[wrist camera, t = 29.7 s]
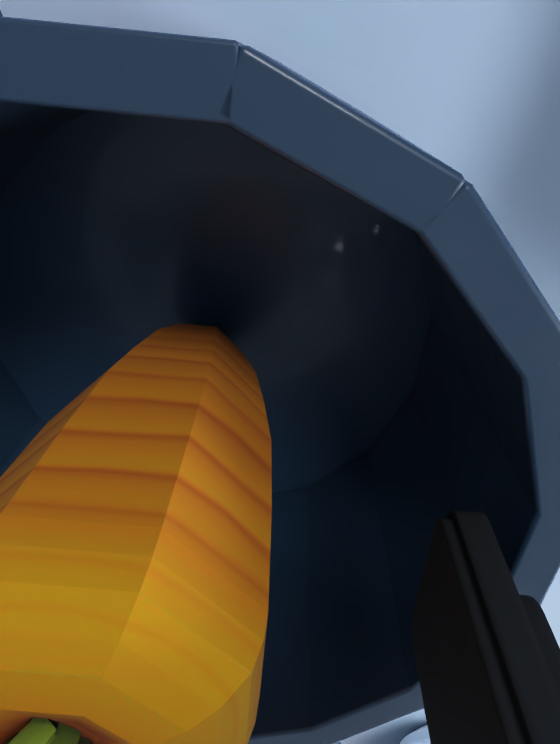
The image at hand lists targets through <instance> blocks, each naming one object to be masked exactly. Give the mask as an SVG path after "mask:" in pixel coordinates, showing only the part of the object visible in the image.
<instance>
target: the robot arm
mask: <svg viewBox="0 0 560 744" xmlns="http://www.w3.org/2000/svg"><path fill="white" fill-rule="evenodd" d="M411 637H412V644H413V649H414V655H415V660H416V666H417V671H418V677H419V682H420V688H421V693H422V699H423V704H424V710H425V715H426V721H427V726H428V731H429V737H430V742H431V744H560V648H559V646H558V644H557V641H556V639H555V637H554V635H553V632H552V630H551V628H550V626H549V623H548V621H547V619H546V617H545V614H544V612H543V610H542V608H541V607H540V605H539V603H538V602H537V601H536V600H535V599H534V598H533V597H531V596H528V595H519V593H518V590H517V588H516V585H515V583H514V581H513V578H512V576H511V573H510V571H509V568H508V566H507V563H506V561H505V559H504V556H503V554H502V551H501V549H500V546H499V544H498V541H497V539H496V537H495V534H494V532H493V529H492V527H491V524H490V522H489V519H488V518H487V516H486V515H485V514H484V513H481V512H466V511H449V512H448V514H447V517H446V519H444V518H438V519H437V520H436V523H435V527H434V531H433V535H432V539H431V543H430V547H429V551H428V555H427V559H426V563H425V567H424V571H423V575H422V579H421V583H420V587H419V591H418V595H417V599H416V603H415V607H414V610H413V614H412V619H411Z"/></svg>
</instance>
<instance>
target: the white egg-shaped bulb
mask: <svg viewBox="0 0 560 744" xmlns="http://www.w3.org/2000/svg"><path fill="white" fill-rule="evenodd" d="M400 744H431V742H430V737H429V731H428V726H427V725H425V726H422V727H420V728H419V729H417V730H416V731H414V732H412V733H410V734H408V735H407V736H406V737H404V739H403V740H402V741H401V743H400Z"/></svg>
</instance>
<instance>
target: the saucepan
mask: <svg viewBox="0 0 560 744" xmlns="http://www.w3.org/2000/svg"><path fill="white" fill-rule="evenodd" d="M179 323H180V324H193V325H205V326H216V327H218V328H219V329H220V330H221V331H222V332H223V333H224V334H225V335H226V336H227V337H228V338H229V339H230V340H231V341H232V342H233V343H234V344H235V345H236V346H237V347H238V348H239V349H240V351H241V352H242V353H243V354H244V356H245V357H246V358H247V360H248V361H249V363H250V364H251V366H252V367H253V369H254V370H255V372H256V374H257V378H258V382H259V385H260V389H261V393H262V396H263V400H264V404H265V409H266V415H267V420H268V425H269V431H270V436H271V454H272V518H271V547H270V576H269V604H268V619H267V629H266V638H265V648H264V658H263V668H262V678H261V688H260V697H259V703H258V709H257V715H256V721H255V725H254V728H253V731H252V733H251V736H250V739H249V742H248V744H341V740H344V739H346V738H349V737H351V736H354V735H356V734H359V733H362V732H364V731H367V730H369V729H372V728H374V727H377V726H380V725H382V724H385V723H387V722H390V721H393V720H395V719H398V718H400V717H403V716H405V715H408V714H411V713H413V712H416V711H418V710H421V709H423V708H424V704H423V699H422V693H421V688H420V682H419V677H418V671H417V666H416V660H415V655H414V649H413V644H412V637H411V619H412V614H413V610H414V607H415V603H416V599H417V595H418V591H419V587H420V583H421V579H422V575H423V571H424V567H425V563H426V559H427V555H428V551H429V547H430V543H431V539H432V535H433V531H434V527H435V523H436V520H437V519H438V518H444V519H446V517H447V514H448V512H449V511H466V512H481V513H484V514H485V515H486V516H487V518H488V519H489V522H490V524H491V527H492V529H493V532H494V534H495V537H496V539H497V541H498V544H499V546H500V549H501V551H502V554H503V556H504V559H505V561H506V563H507V566H508V568H509V571H510V573H511V576H512V578H513V581H514V583H515V585H516V588H517V590H518V593H519V595H528V596H531V597H533V598H534V599H535V600H536V601H537V602H538V603H539V605H541V603H542V601H543V599H544V597H545V595H546V593H547V591H548V589H549V587H550V585H551V583H552V581H553V579H554V577H555V575H556V573H557V571H558V569H559V567H560V321H559V320H558V318H557V317H556V315H555V314H554V312H553V310H552V309H551V307H550V306H549V304H548V303H547V301H546V300H545V298H544V296H543V295H542V293H541V292H540V290H539V289H538V287H537V285H536V284H535V282H534V281H533V279H532V278H531V276H530V274H529V273H528V271H527V270H526V268H525V267H524V265H523V263H522V262H521V260H520V259H519V257H518V256H517V254H516V253H515V251H514V249H513V248H512V246H511V245H510V243H509V242H508V240H507V238H506V237H505V235H504V234H503V232H502V231H501V229H500V227H499V226H498V224H497V223H496V221H495V220H494V218H493V216H492V215H491V213H490V212H489V210H488V209H487V207H486V205H485V204H484V202H483V201H482V199H481V198H480V196H479V195H478V193H477V191H476V190H475V188H474V187H473V185H472V184H470V183H469V182H467V181H466V180H465V179H464V177H463V176H462V174H460V173H459V172H457V171H456V170H454V169H452V168H451V167H449V166H448V165H446V164H444V163H443V162H441V161H440V160H438V159H436V158H435V157H433V156H432V155H430V154H428V153H427V152H425V151H424V150H422V149H420V148H419V147H417V146H416V145H414V144H412V143H411V142H409V141H408V140H406V139H404V138H403V137H401V136H400V135H398V134H396V133H395V132H393V131H392V130H390V129H388V128H387V127H385V126H384V125H382V124H380V123H379V122H377V121H376V120H374V119H372V118H371V117H369V116H367V115H366V114H364V113H362V112H361V111H359V110H357V109H356V108H354V107H352V106H351V105H349V104H347V103H346V102H344V101H342V100H341V99H339V98H337V97H336V96H334V95H332V94H331V93H329V92H328V91H326V90H324V89H323V88H321V87H319V86H318V85H316V84H314V83H313V82H311V81H309V80H308V79H306V78H304V77H303V76H301V75H299V74H298V73H296V72H294V71H293V70H291V69H289V68H288V67H286V66H284V65H283V64H281V63H279V62H278V61H276V60H274V59H272V58H270V57H268V56H266V55H265V54H263V53H261V52H259V51H257V50H255V49H253V48H251V47H250V46H245V45H243V44H241V43H239V42H237V41H235V40H227V39H217V38H207V37H198V36H188V35H178V34H168V33H158V32H148V31H139V30H129V29H119V28H109V27H99V26H89V25H80V24H70V23H60V22H50V21H40V20H31V19H21V18H11V17H3V15H2V13H1V11H0V477H1V476H2V475H3V474H4V472H5V471H6V470H7V469H8V468H9V467H10V465H11V464H12V463H13V462H14V461H15V460H16V459H17V457H18V456H19V455H20V454H21V453H22V452H23V450H24V449H25V448H26V447H27V446H28V445H29V443H30V442H31V441H32V440H33V439H34V438H35V436H36V435H37V434H38V433H39V432H40V431H41V430H42V428H43V427H44V426H45V425H46V424H47V423H48V422H49V421H50V420H51V419H52V418H53V417H54V416H55V415H57V414H58V413H59V412H60V411H61V410H62V409H63V408H65V407H66V406H67V405H68V404H69V403H70V402H71V401H73V400H74V399H75V398H76V397H77V396H78V395H80V394H81V393H82V392H83V391H84V390H85V389H86V388H88V387H89V386H90V385H91V384H92V383H93V382H95V381H96V380H97V379H98V378H99V377H100V376H102V375H103V374H104V373H105V372H106V371H107V370H108V369H110V368H111V367H112V366H113V365H114V364H115V363H117V362H118V361H119V360H120V359H121V358H122V357H124V356H125V355H126V354H127V353H128V352H129V351H131V350H132V349H133V348H134V347H135V346H136V345H138V344H139V343H141V342H142V341H143V340H145V339H146V338H147V337H149V336H150V335H151V334H153V333H154V332H155V331H157V330H158V329H160V328H164V327H167V326H171V325H175V324H179Z"/></svg>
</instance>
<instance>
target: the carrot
mask: <svg viewBox="0 0 560 744" xmlns="http://www.w3.org/2000/svg"><path fill="white" fill-rule="evenodd" d="M271 518H272V454H271V436H270V431H269V425H268V420H267V415H266V409H265V404H264V400H263V396H262V393H261V389H260V385H259V382H258V378H257V374H256V372H255V370H254V369H253V367H252V366H251V364H250V363H249V361H248V360H247V358H246V357H245V356H244V354H243V353H242V352H241V351H240V349H239V348H238V347H237V346H236V345H235V344H234V343H233V342H232V341H231V340H230V339H229V338H228V337H227V336H226V335H225V334H224V333H223V332H222V331H221V330H220V329H219V328H218V327H216V326H205V325H193V324H180V323H179V324H175V325H171V326H167V327H164V328H160V329H158V330H157V331H155V332H154V333H153V334H151V335H150V336H149V337H147V338H146V339H145V340H143V341H142V342H141V343H139V344H138V345H136V346H135V347H134V348H133V349H132V350H131V351H129V352H128V353H127V354H126V355H125V356H124V357H122V358H121V359H120V360H119V361H118V362H117V363H115V364H114V365H113V366H112V367H111V368H110V369H108V370H107V371H106V372H105V373H104V374H103V375H102V376H100V377H99V378H98V379H97V380H96V381H95V382H93V383H92V384H91V385H90V386H89V387H88V388H86V389H85V390H84V391H83V392H82V393H81V394H80V395H78V396H77V397H76V398H75V399H74V400H73V401H71V402H70V403H69V404H68V405H67V406H66V407H65V408H63V409H62V410H61V411H60V412H59V413H58V414H57V415H55V416H54V417H53V418H52V419H51V420H50V421H49V422H48V423H47V424H46V425H45V426H44V427H43V428H42V430H41V431H40V432H39V433H38V434H37V435H36V436H35V438H34V439H33V440H32V441H31V442H30V443H29V445H28V446H27V447H26V448H25V449H24V450H23V452H22V453H21V454H20V455H19V456H18V457H17V459H16V460H15V461H14V462H13V463H12V464H11V465H10V467H9V468H8V469H7V470H6V471H5V472H4V474H3V475H2V476H1V477H0V744H248V742H249V739H250V736H251V733H252V731H253V728H254V725H255V721H256V715H257V709H258V703H259V697H260V688H261V678H262V668H263V658H264V648H265V638H266V629H267V619H268V604H269V576H270V547H271Z"/></svg>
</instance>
